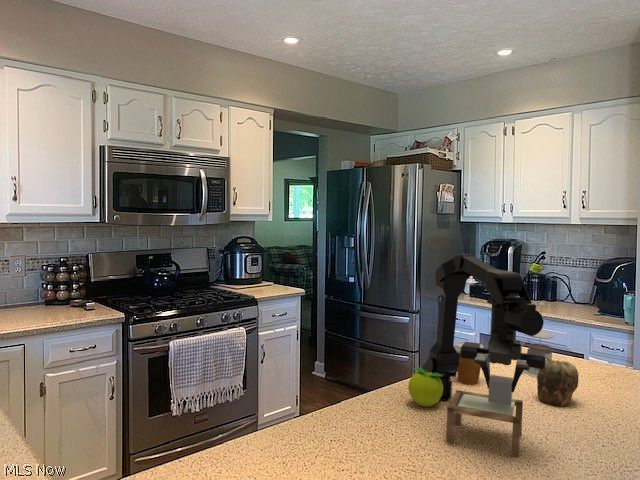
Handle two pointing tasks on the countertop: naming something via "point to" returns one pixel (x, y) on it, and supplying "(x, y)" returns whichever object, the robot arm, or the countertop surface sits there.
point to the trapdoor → (485, 405)
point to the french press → (539, 348)
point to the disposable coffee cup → (467, 368)
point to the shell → (557, 382)
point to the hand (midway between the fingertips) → (500, 390)
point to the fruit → (425, 387)
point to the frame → (457, 412)
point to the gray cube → (500, 390)
